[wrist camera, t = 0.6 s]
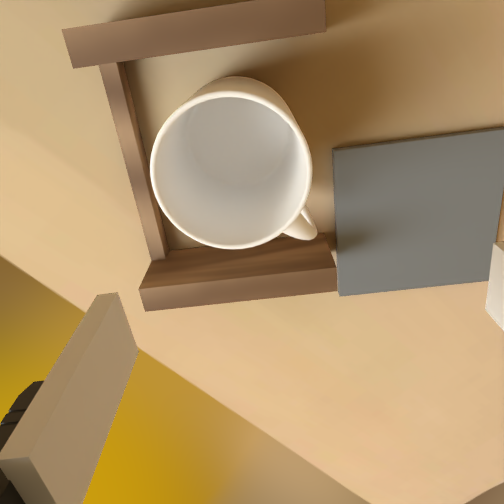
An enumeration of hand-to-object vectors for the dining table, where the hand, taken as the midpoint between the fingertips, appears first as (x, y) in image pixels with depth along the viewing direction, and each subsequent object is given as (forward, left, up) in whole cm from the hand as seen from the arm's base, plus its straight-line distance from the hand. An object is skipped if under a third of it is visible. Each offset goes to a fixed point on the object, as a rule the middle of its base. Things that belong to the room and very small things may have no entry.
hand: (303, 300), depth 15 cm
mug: (-1, -2, -20) cm, 20 cm away
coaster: (+6, +11, -20) cm, 23 cm away
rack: (-1, -4, -20) cm, 20 cm away
